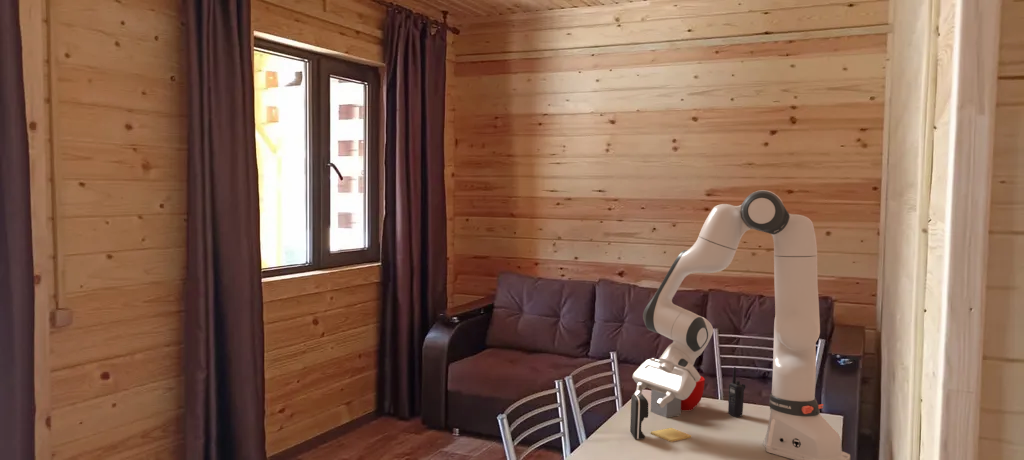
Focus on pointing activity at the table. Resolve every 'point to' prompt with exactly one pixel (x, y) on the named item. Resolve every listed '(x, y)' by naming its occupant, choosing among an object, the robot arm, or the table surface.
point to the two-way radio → (736, 396)
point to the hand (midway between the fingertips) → (647, 401)
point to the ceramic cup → (694, 396)
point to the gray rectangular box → (669, 409)
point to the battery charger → (638, 415)
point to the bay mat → (671, 434)
